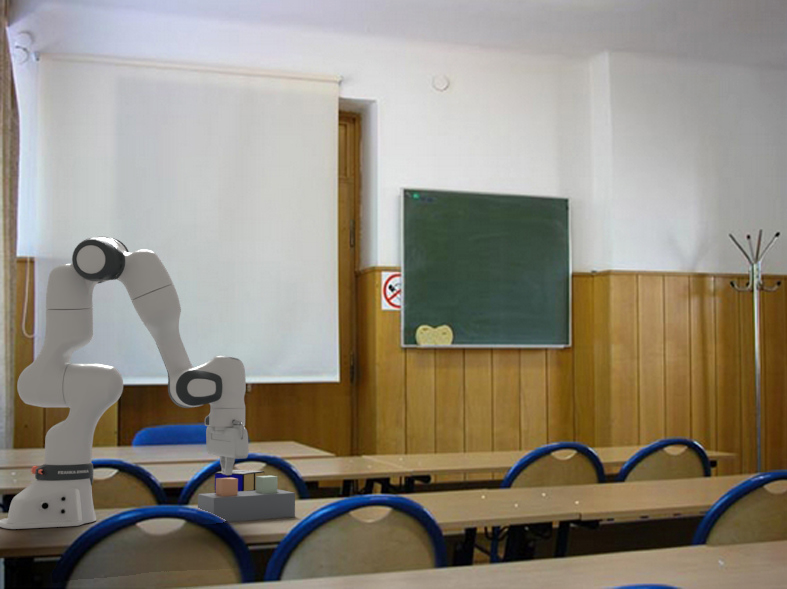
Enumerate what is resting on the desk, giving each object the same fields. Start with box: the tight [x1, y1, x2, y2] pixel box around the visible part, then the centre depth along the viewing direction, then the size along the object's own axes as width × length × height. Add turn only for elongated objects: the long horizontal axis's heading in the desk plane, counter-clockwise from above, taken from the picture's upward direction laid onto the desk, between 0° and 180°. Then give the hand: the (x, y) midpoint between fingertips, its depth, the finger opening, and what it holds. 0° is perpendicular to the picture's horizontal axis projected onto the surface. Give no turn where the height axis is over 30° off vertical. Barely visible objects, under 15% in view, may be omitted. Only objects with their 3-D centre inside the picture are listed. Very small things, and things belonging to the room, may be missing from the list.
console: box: [197, 489, 296, 523], centre depth 238 cm, size 22×11×6 cm, turn 122°
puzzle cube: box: [214, 469, 266, 493], centre depth 257 cm, size 10×10×10 cm
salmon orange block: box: [216, 478, 238, 496], centre depth 236 cm, size 4×4×6 cm
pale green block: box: [256, 475, 279, 494], centre depth 241 cm, size 4×4×6 cm
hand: (226, 474), depth 235 cm, fingers closed
